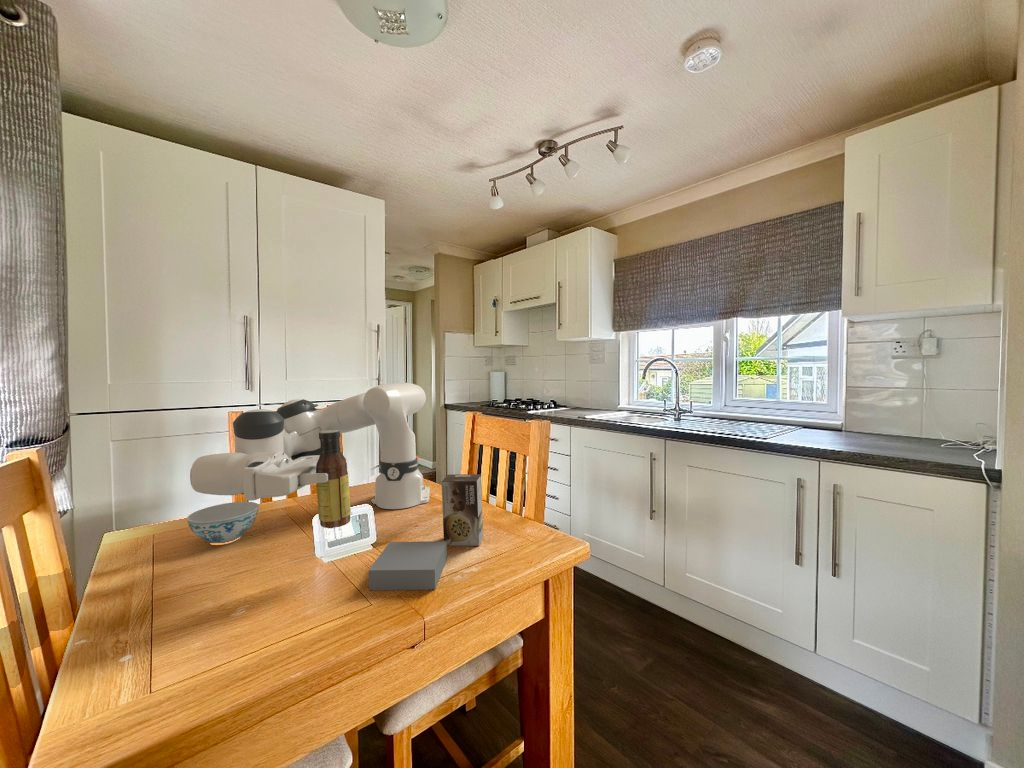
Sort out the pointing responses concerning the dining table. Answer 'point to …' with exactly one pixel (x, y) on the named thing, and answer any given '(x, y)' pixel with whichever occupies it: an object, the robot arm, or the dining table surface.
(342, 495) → the sauce bottle
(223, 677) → the dining table surface
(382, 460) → the robot arm
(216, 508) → the chinaware
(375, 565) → the stand
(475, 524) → the coffee box
